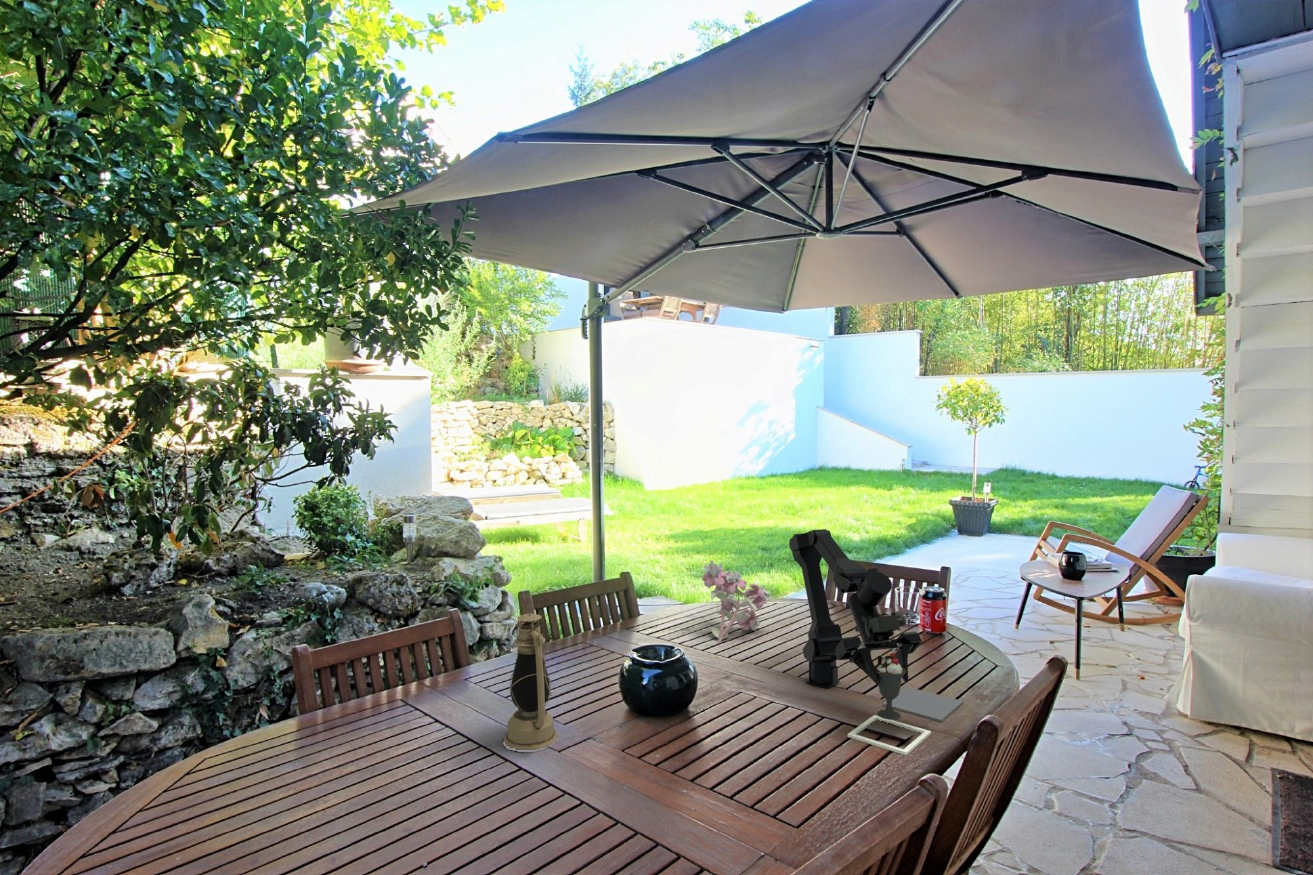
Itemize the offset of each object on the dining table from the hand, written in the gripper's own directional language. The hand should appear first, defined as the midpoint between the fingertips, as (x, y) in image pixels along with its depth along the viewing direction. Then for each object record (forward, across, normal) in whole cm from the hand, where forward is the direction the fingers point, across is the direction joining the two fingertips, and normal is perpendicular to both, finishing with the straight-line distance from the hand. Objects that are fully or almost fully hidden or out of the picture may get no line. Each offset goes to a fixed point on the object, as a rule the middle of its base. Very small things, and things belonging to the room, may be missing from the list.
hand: (892, 682), depth 156 cm
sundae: (+5, 0, +6) cm, 8 cm away
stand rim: (+8, 0, +9) cm, 12 cm away
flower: (-46, -7, +64) cm, 79 cm away
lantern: (-4, -75, +22) cm, 78 cm away
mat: (-1, +17, +19) cm, 25 cm away
